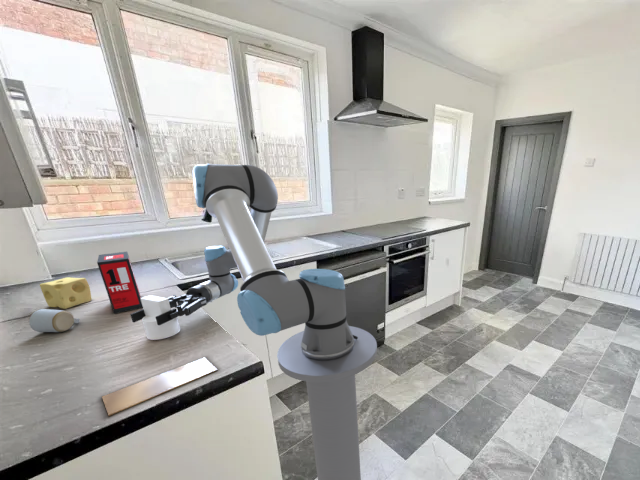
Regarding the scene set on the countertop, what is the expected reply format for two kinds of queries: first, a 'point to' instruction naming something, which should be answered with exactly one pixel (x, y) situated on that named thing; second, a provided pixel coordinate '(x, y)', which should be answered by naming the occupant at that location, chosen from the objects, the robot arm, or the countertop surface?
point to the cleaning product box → (119, 281)
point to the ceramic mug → (51, 320)
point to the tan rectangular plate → (156, 385)
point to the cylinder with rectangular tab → (152, 309)
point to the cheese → (66, 292)
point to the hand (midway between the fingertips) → (144, 319)
